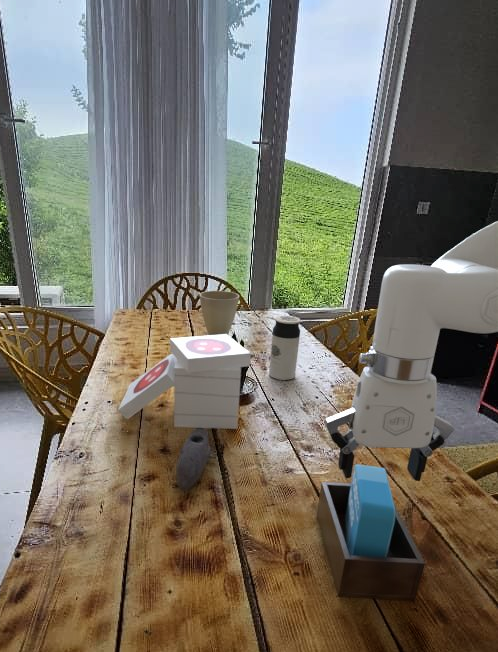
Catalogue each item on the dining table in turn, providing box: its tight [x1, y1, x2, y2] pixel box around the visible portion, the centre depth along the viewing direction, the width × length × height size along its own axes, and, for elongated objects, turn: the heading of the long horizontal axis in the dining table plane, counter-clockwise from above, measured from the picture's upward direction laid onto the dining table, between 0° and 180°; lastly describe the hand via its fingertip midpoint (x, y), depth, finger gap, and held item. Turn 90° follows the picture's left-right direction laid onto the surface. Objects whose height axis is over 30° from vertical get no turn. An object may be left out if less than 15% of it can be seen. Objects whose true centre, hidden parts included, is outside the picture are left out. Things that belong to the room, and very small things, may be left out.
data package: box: [345, 464, 396, 557], centre depth 67 cm, size 12×4×12 cm, turn 168°
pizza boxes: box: [117, 334, 252, 430], centre depth 107 cm, size 19×30×18 cm, turn 90°
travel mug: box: [268, 315, 301, 381], centre depth 133 cm, size 8×8×18 cm
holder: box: [316, 481, 426, 602], centre depth 68 cm, size 11×17×7 cm, turn 178°
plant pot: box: [199, 290, 240, 335], centre depth 169 cm, size 15×15×16 cm
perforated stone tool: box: [175, 428, 211, 492], centre depth 85 cm, size 15×5×7 cm, turn 167°
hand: (379, 474), depth 64 cm, fingers open, 9 cm apart
